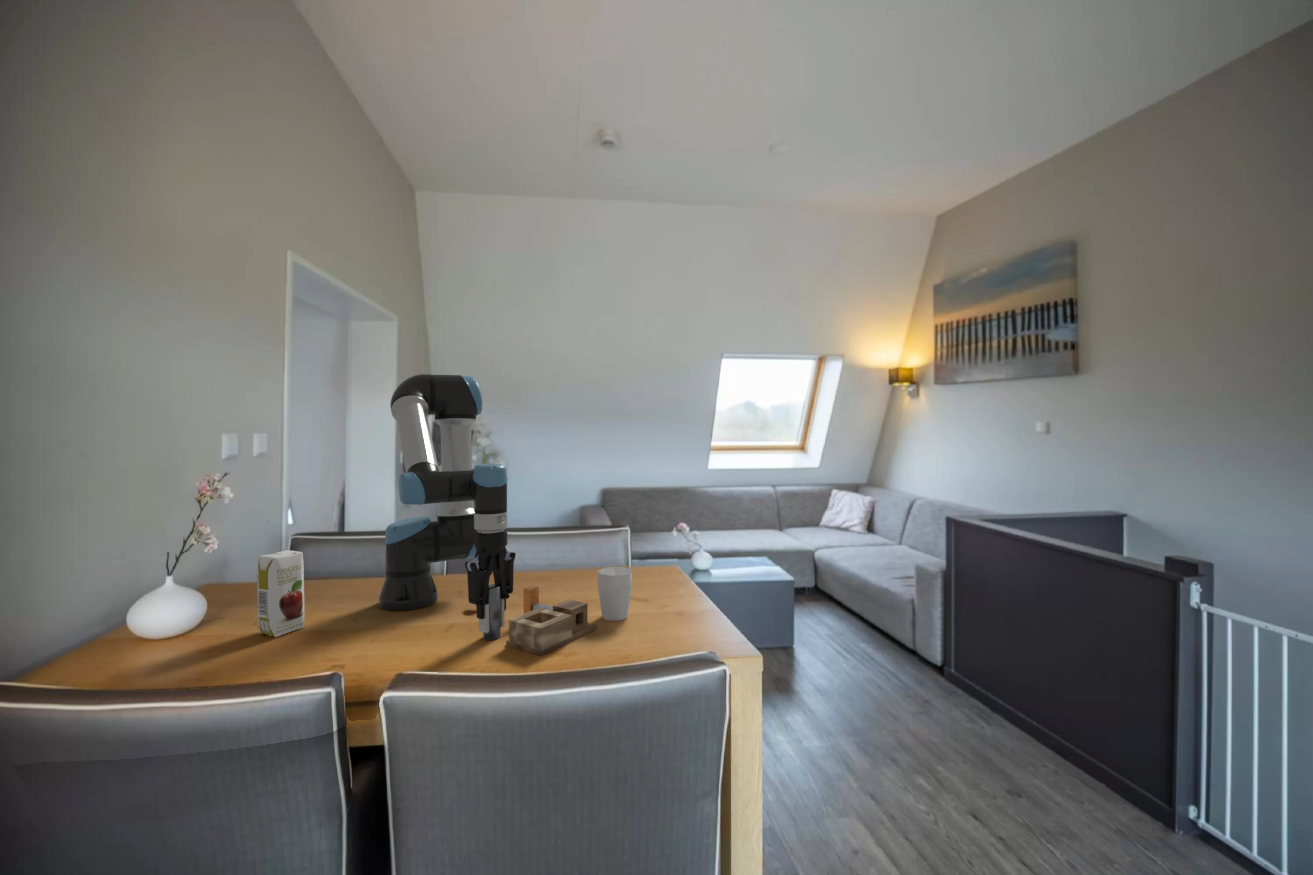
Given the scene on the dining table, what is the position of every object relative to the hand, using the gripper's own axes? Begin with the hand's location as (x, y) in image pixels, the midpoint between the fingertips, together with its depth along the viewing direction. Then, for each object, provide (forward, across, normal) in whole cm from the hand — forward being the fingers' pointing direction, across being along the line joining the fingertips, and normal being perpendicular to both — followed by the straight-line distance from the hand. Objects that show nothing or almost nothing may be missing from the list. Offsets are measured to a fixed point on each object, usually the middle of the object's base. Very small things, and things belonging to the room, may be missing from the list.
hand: (491, 628), depth 134 cm
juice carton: (+2, -25, +46) cm, 52 cm away
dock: (+2, +8, -12) cm, 15 cm away
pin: (+2, +13, -5) cm, 14 cm away
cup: (+2, +27, -16) cm, 31 cm away
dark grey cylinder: (+2, 0, 0) cm, 2 cm away
